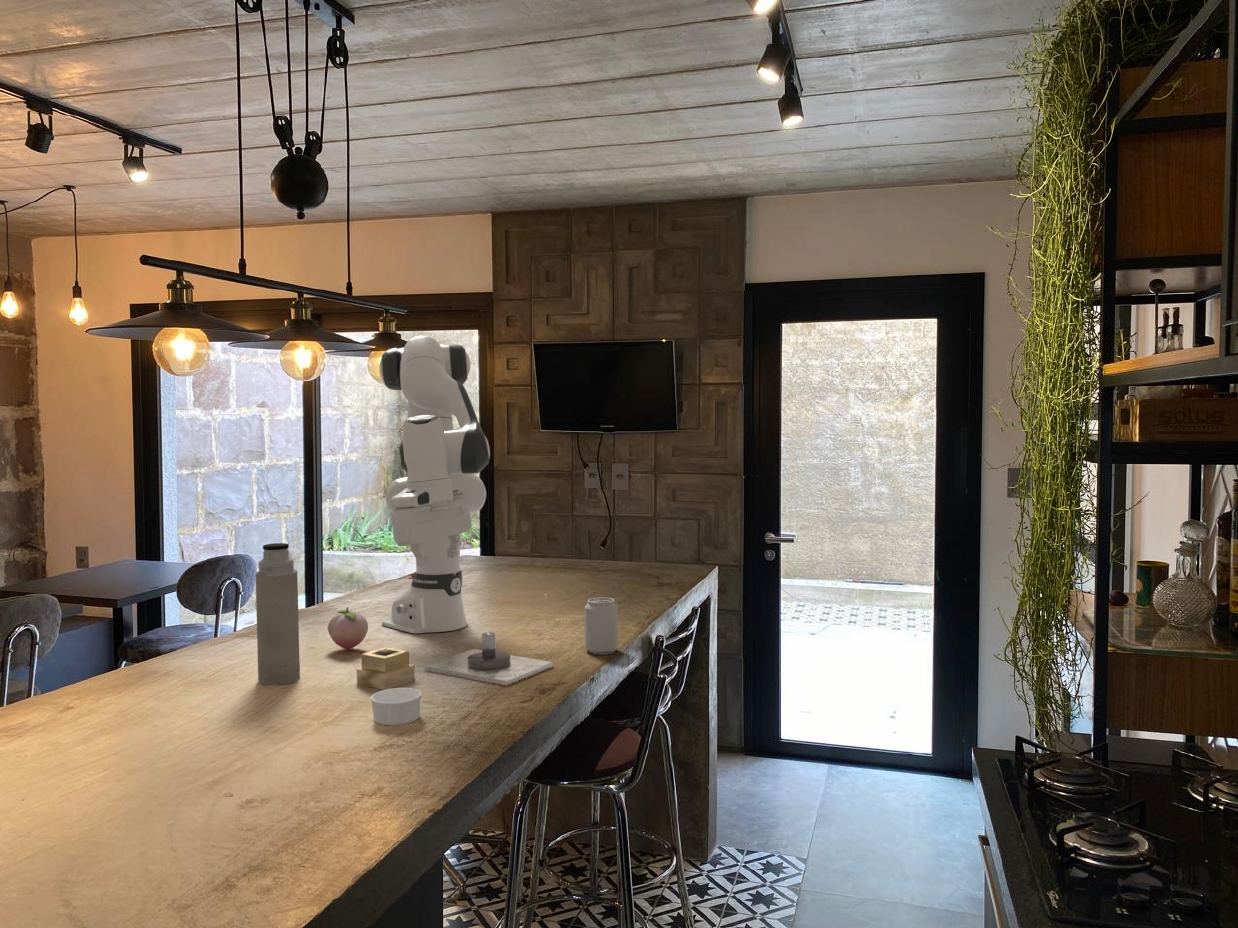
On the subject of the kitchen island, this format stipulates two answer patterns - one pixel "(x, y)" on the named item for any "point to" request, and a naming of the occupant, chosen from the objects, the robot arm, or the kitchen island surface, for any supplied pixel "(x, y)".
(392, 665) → the tan square hollow frame
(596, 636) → the can
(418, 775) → the kitchen island surface
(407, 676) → the stand
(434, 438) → the robot arm
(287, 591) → the thermos bottle
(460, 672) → the stone base with peg
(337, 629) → the decorative fruit
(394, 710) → the ramekin
